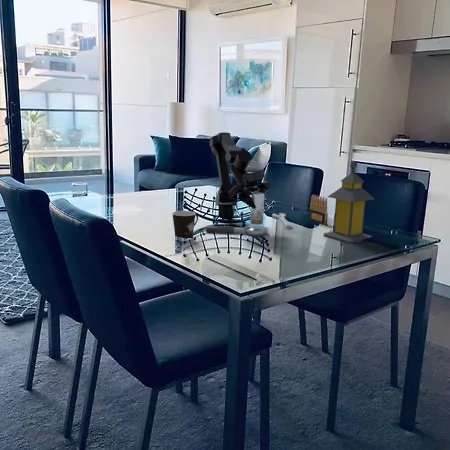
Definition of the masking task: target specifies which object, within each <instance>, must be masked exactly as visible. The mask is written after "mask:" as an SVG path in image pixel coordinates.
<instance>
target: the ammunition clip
mask: <svg viewBox="0 0 450 450" xmlns="http://www.w3.org/2000/svg"><path fill="white" fill-rule="evenodd" d="M309 205H310V206H309V209H308V221H311V222H312V223H316V224H319V225H322V226H327V225H328V218H329V217H328V215H329V214H328V197H325V196H323V197H322V196H321V195H320V196H319V195H316V194H312V195H311V198H310V204H309Z"/></svg>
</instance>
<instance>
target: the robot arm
mask: <svg viewBox="0 0 450 450" xmlns="http://www.w3.org/2000/svg"><path fill="white" fill-rule="evenodd" d="M231 135H232V134H231V133H230V132H225V131H223V132H218V133H217V134H215V135H214V136H212V137H211V138H210V139H209V147H210V149H211V153H212V154H213V155H214V156H215V157H216V164H217V165H216V166H217V171H218V172H217V173H218V177H219V178H218V179H219V185H220V186H219V188H218V190H217V193H216V196H215V199H214V201H215V202H214V203H215V205H216V206H217V207H218V208H217V211H218V217H220V218H222V219H226V220H225V221H233V219H234V217H235V208H234V207H235V206H237V203H238V201H241V202H243V203H244V204H245V205H246V206H248V207H250V209H251V208H253V209H255V208H256V206H255V204H254V202H253V200H252V198H251V196H252V195H251V193H253V192H260V193H264V195H265V194H266V193H267V191H268V190H269V189H270V188H271V187H272V185H271V184H270V182H268V181H263V180H264V178H265V177H266V176H265V175H266V174H265V172H264V171H263V169H259V170H257V171H253V172H250V173H249V172H248V170H247V168H249V166H250V164H251V161H252V158H253V155H252V153H251V152H250V151H248V150H247V149H246V148H245V147H240V146H237V145H236V144H235V143H236V142H235V141H234V140H233V138H232V137H231ZM229 165H230V167H229ZM230 175H232V176H233V178H234V180H235V183H232V182H231V177H230ZM259 181H262V182H259ZM265 201H266V200H265V199H264V208H265V207H266V202H265ZM218 217H217V218H218Z"/></svg>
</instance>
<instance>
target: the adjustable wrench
mask: <svg viewBox="0 0 450 450" xmlns="http://www.w3.org/2000/svg"><path fill="white" fill-rule="evenodd" d="M271 217H272V219H276V220H278V221H280V223H281V224H282V225H283V226H284V228H285V229H288V230H291V229H293V225H292V224H291V223H290V222H289V221H288V220H287V219H286V217H287V214H286V213H284V212H283V213H282V212H279V213H278V214H277V213H272V214H271Z"/></svg>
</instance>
